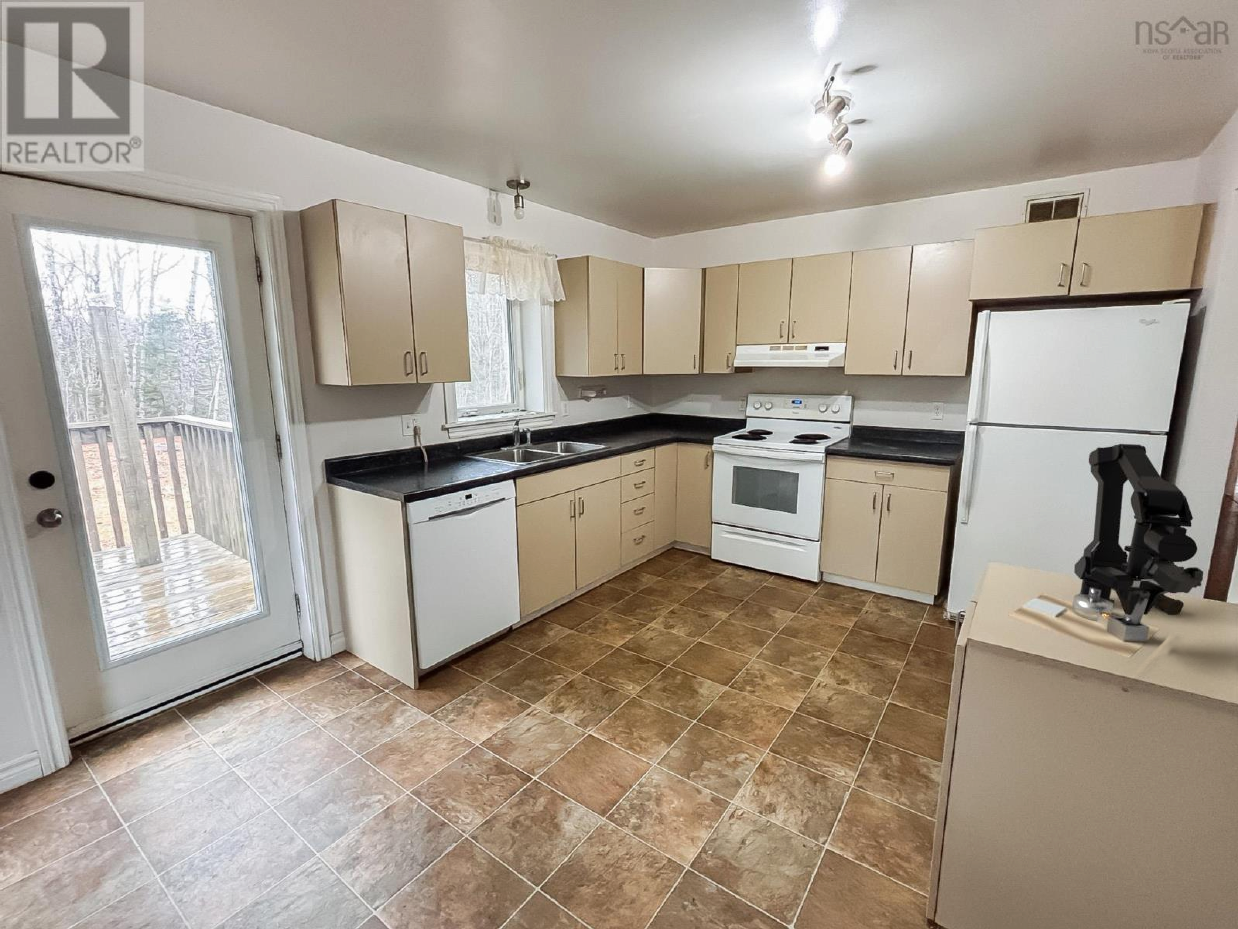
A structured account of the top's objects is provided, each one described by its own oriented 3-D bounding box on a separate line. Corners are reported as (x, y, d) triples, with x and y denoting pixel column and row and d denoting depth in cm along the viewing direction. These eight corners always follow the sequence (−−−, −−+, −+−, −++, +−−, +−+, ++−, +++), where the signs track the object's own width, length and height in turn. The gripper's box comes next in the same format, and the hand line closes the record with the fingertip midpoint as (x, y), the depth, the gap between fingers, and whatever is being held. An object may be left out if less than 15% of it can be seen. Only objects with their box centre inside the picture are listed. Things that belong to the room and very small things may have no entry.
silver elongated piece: (1064, 607, 132) (1068, 582, 131) (1095, 607, 131) (1099, 582, 130) (1117, 641, 117) (1122, 613, 115) (1152, 642, 116) (1158, 614, 115)
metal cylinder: (1129, 634, 117) (1143, 591, 114) (1115, 627, 119) (1130, 586, 117) (1140, 634, 117) (1154, 592, 115) (1126, 627, 120) (1141, 586, 118)
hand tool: (1183, 615, 130) (1187, 598, 130) (1167, 616, 130) (1171, 598, 129) (1109, 583, 149) (1112, 567, 148) (1095, 583, 149) (1098, 567, 148)
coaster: (1034, 600, 136) (1034, 597, 136) (1065, 609, 131) (1066, 607, 131) (1023, 607, 133) (1023, 604, 133) (1055, 617, 128) (1055, 615, 127)
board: (1041, 599, 140) (1042, 593, 140) (1157, 635, 122) (1159, 628, 122) (1007, 621, 129) (1007, 615, 129) (1128, 664, 111) (1129, 657, 111)
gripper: (1146, 560, 106) (1131, 633, 109) (1235, 559, 107) (1218, 631, 110) (1094, 541, 117) (1081, 608, 120) (1175, 540, 118) (1161, 606, 121)
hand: (1135, 614), depth 117 cm, fingers open, 3 cm apart
